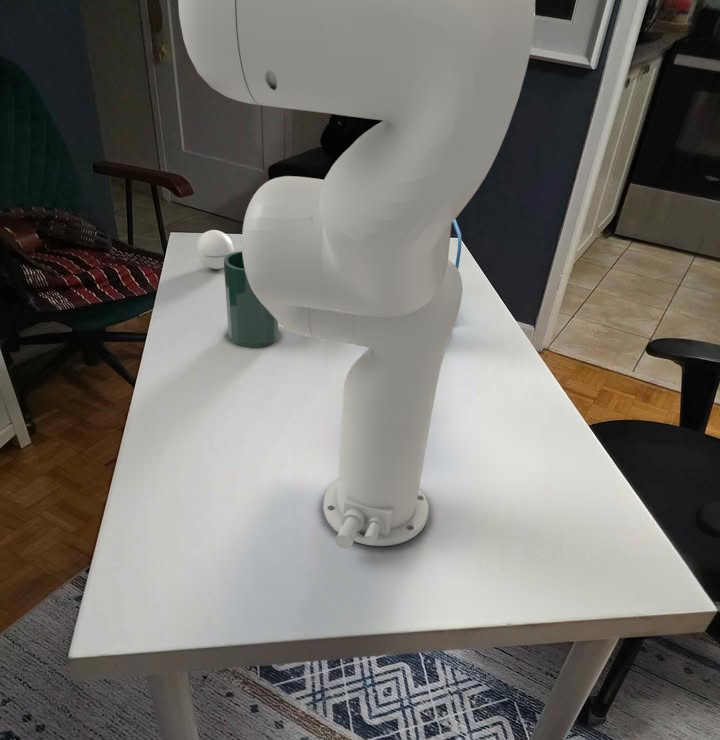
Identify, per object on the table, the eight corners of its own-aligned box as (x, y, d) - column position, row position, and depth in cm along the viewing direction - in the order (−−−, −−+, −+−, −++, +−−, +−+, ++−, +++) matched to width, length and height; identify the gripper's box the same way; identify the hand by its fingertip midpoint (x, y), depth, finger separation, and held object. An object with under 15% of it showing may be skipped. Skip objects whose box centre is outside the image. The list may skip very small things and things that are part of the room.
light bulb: (195, 274, 127) (191, 236, 123) (201, 260, 133) (197, 223, 128) (246, 277, 128) (244, 239, 123) (250, 262, 134) (248, 226, 129)
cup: (266, 351, 106) (264, 274, 97) (220, 341, 107) (214, 264, 99) (285, 330, 112) (284, 255, 104) (241, 321, 113) (237, 247, 105)
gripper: (373, 7, 64) (360, 199, 76) (530, 24, 61) (491, 222, 73) (393, 3, 70) (378, 182, 82) (538, 19, 67) (501, 203, 79)
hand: (432, 200), depth 77 cm, fingers closed
